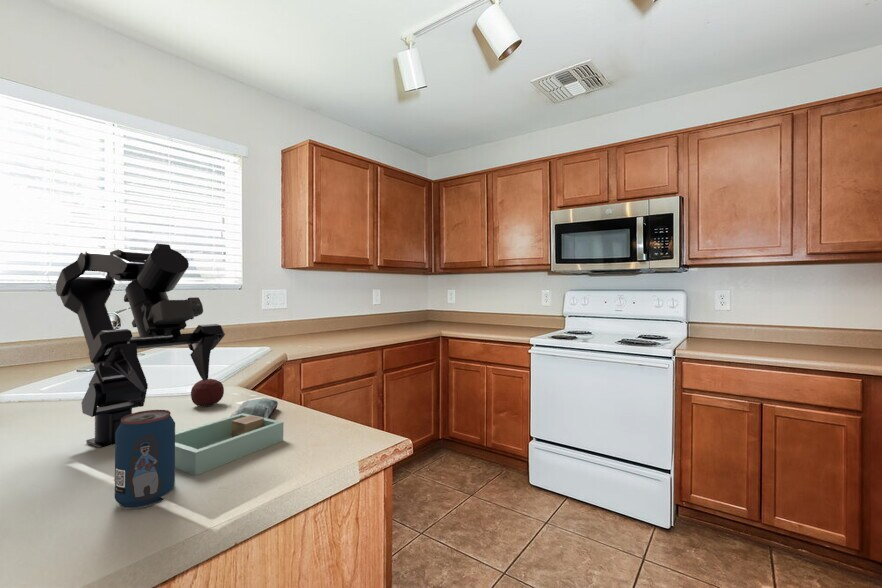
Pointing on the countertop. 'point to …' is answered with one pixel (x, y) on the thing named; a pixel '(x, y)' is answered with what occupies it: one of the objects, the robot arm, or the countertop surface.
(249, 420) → the walnut block
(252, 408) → the packaged food
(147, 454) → the soda can
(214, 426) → the tray
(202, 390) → the potato
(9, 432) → the countertop surface
